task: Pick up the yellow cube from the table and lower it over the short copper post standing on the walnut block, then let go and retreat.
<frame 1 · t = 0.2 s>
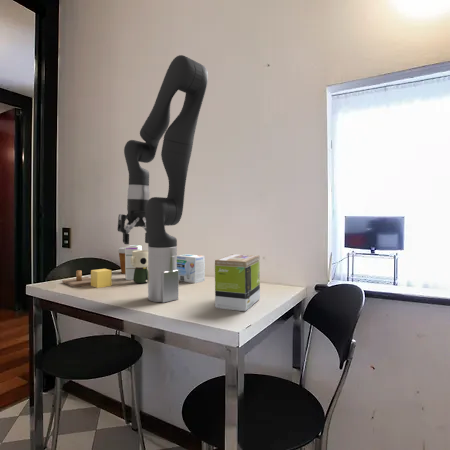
hand: (137, 243, 111), 17 cm above the table, tool pointing down, fingers open, 8 cm apart
yellow cube: (101, 285, 121), on the table
light bulb box: (190, 281, 132), on the table
disposable coffee cup: (128, 273, 149), on the table
character mug: (141, 283, 127), on the table
post block: (79, 283, 125), on the table
tea box: (238, 304, 97), on the table
syrup box: (133, 279, 135), on the table
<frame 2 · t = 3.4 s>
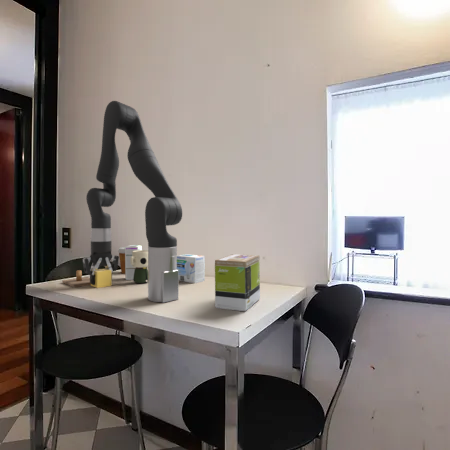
hand: (101, 283, 121), 1 cm above the table, tool pointing down, fingers closed on yellow cube, 5 cm apart
yellow cube: (101, 285, 121), on the table, touching gripper
everything else where it was.
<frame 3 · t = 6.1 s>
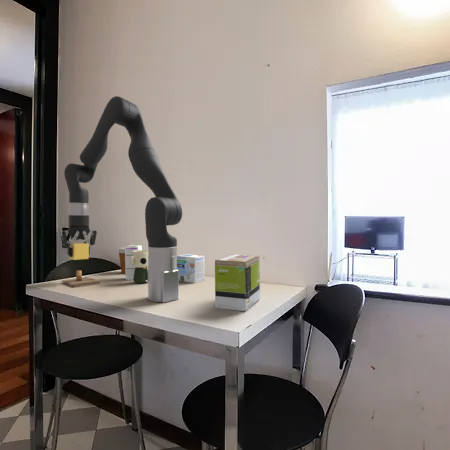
hand: (78, 256, 125), 11 cm above the table, tool pointing down, fingers closed on yellow cube, 5 cm apart
yellow cube: (78, 258, 125), point 10 cm above the table, touching gripper
everything else where it was.
when the fingers open (3 cm above the table, at t = 8.9 s): yellow cube stays where it is, resting on post block.
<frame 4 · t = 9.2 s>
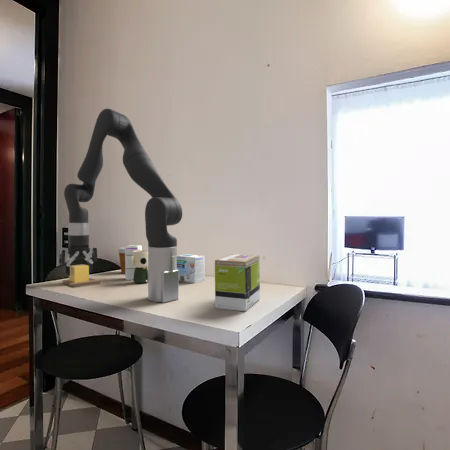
hand: (78, 274, 125), 4 cm above the table, tool pointing down, fingers open, 8 cm apart
yellow cube: (78, 280, 125), point 1 cm above the table, touching post block
everything else where it was.
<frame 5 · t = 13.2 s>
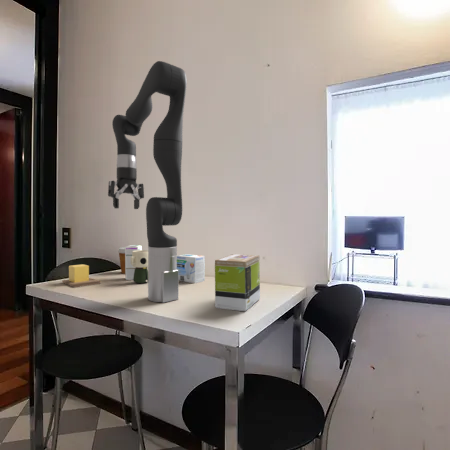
hand: (126, 208, 123), 30 cm above the table, tool pointing down, fingers open, 8 cm apart
nothing on the table moved.
at the end: yellow cube 0.0 cm off-centre on the post block, point 1.0 cm above the post block's base; the gripper is holding nothing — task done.
